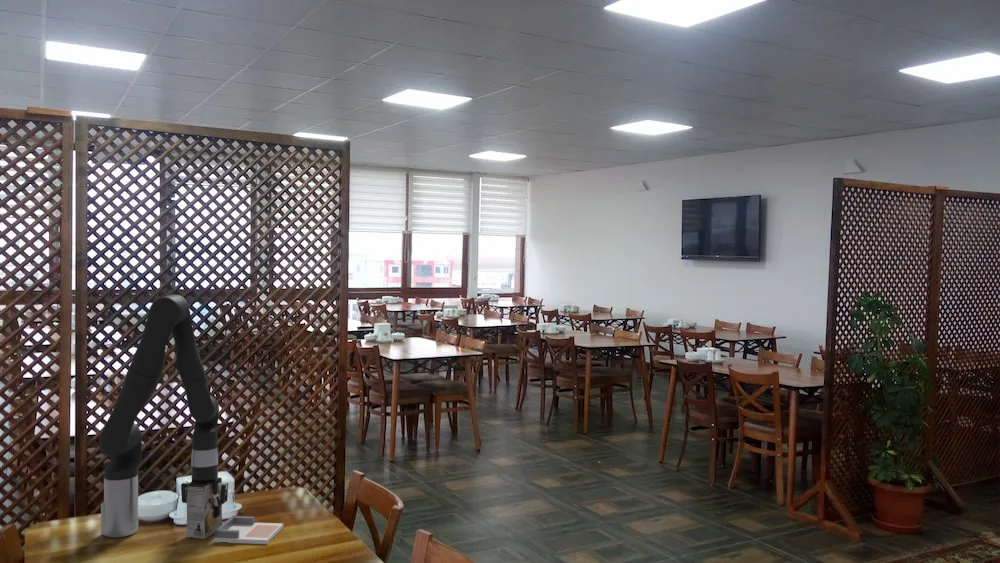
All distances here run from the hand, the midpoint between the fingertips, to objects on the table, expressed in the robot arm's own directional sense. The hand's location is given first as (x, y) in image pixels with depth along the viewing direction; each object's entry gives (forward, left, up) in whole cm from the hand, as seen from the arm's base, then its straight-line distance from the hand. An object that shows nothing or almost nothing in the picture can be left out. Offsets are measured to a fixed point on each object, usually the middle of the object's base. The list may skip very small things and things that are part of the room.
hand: (204, 516), depth 229 cm
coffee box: (0, 0, -5) cm, 5 cm away
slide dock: (+14, 0, -5) cm, 15 cm away
